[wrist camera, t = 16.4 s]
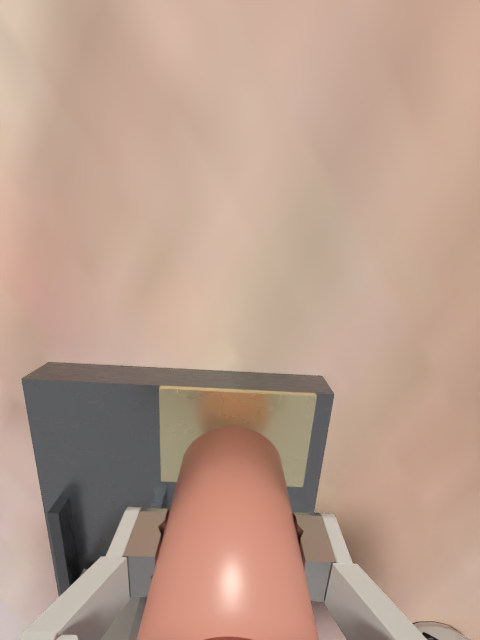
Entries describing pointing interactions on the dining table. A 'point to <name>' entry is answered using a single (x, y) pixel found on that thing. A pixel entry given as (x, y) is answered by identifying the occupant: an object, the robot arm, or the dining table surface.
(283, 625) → the cap
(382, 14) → the dining table surface
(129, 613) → the toggle
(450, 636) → the supplement can
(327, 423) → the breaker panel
